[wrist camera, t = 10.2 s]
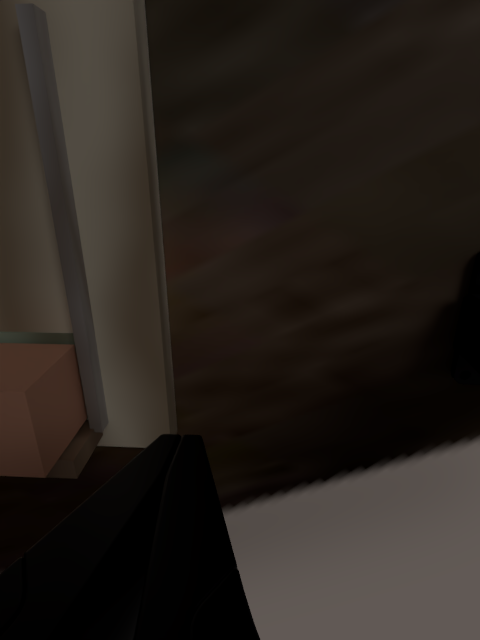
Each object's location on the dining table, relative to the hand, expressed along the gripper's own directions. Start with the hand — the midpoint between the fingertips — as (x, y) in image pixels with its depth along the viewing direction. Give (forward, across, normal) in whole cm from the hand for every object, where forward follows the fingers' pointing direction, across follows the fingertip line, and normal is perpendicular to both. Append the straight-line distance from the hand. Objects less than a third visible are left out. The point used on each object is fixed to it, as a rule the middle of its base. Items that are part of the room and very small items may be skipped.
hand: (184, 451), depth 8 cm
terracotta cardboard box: (+9, +9, +4) cm, 14 cm away
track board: (+11, +9, -2) cm, 14 cm away
